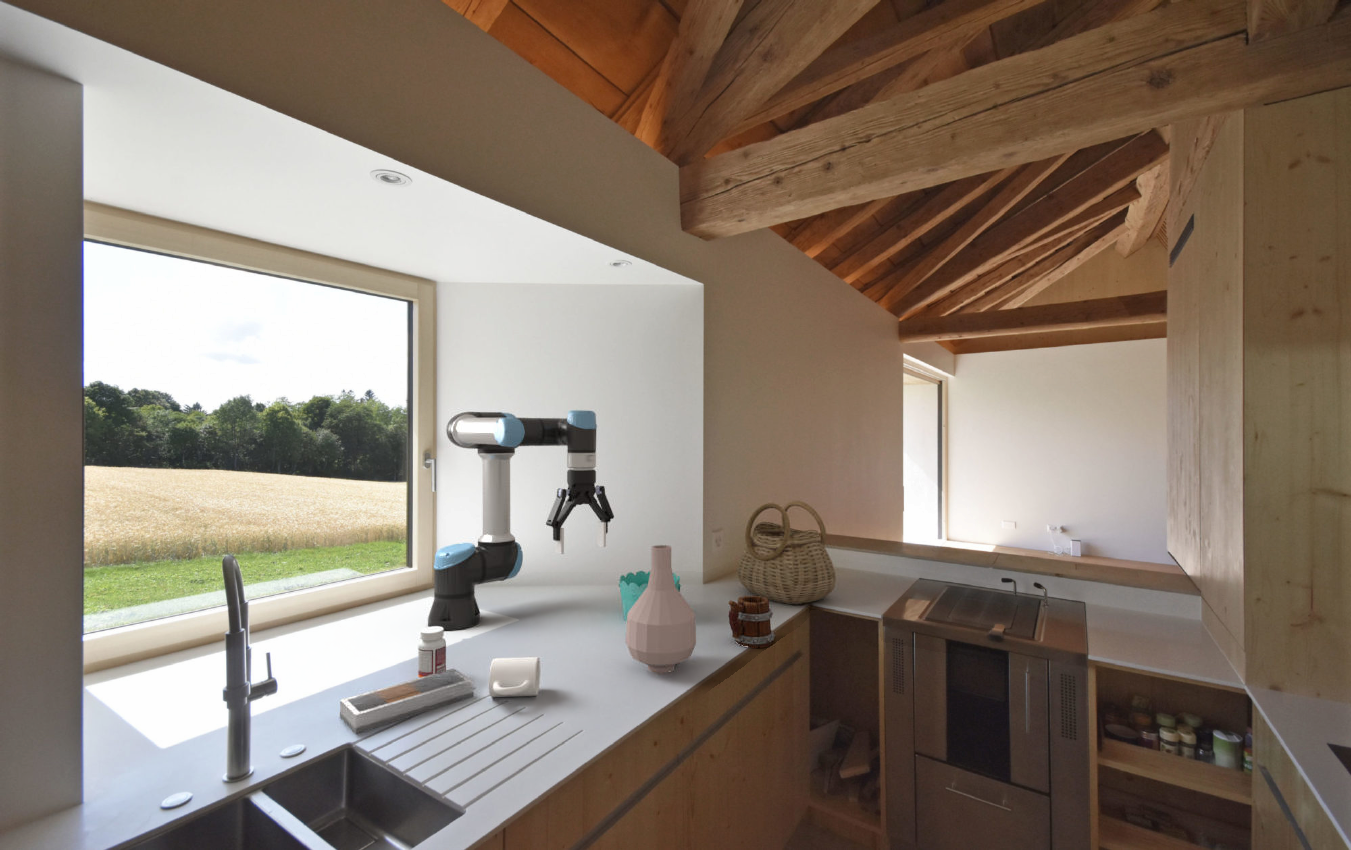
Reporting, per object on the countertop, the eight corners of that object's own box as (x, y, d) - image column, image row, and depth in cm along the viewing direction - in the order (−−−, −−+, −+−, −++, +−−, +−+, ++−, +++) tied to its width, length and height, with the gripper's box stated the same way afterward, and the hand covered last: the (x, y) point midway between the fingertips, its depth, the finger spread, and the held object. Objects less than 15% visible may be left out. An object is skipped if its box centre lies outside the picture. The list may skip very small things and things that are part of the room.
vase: (643, 687, 140) (644, 556, 140) (614, 662, 155) (615, 543, 156) (709, 674, 148) (709, 549, 148) (675, 650, 164) (676, 538, 164)
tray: (355, 733, 118) (355, 715, 118) (339, 716, 125) (339, 699, 125) (473, 696, 135) (473, 680, 135) (453, 683, 142) (453, 667, 142)
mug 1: (496, 687, 140) (496, 652, 140) (540, 686, 141) (540, 651, 141) (484, 711, 128) (484, 673, 128) (532, 710, 129) (532, 672, 129)
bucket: (609, 621, 189) (609, 579, 189) (635, 606, 205) (635, 567, 206) (666, 629, 181) (666, 586, 181) (688, 612, 198) (688, 572, 198)
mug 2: (785, 641, 171) (779, 589, 169) (750, 661, 162) (744, 607, 160) (755, 630, 180) (749, 581, 178) (720, 649, 171) (713, 598, 169)
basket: (850, 600, 213) (850, 504, 213) (795, 614, 197) (795, 509, 197) (777, 580, 241) (777, 495, 242) (724, 591, 225) (724, 499, 225)
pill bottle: (444, 670, 150) (444, 623, 150) (447, 679, 144) (447, 631, 144) (417, 674, 147) (417, 627, 147) (418, 683, 142) (419, 634, 142)
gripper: (549, 471, 150) (548, 558, 149) (627, 467, 167) (626, 545, 167) (532, 470, 155) (532, 554, 155) (609, 466, 173) (609, 541, 172)
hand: (581, 549), depth 161 cm, fingers open, 13 cm apart
